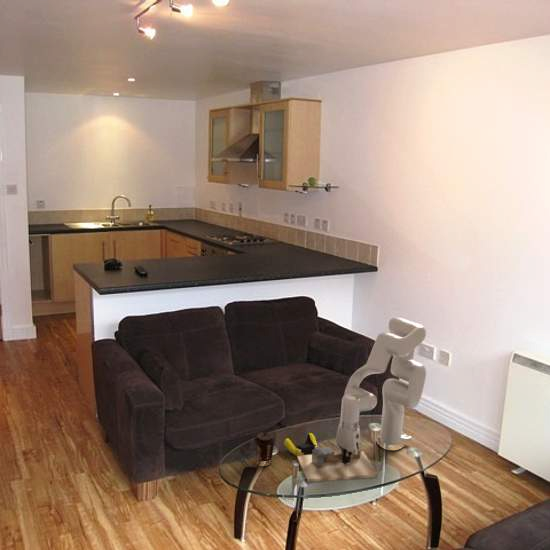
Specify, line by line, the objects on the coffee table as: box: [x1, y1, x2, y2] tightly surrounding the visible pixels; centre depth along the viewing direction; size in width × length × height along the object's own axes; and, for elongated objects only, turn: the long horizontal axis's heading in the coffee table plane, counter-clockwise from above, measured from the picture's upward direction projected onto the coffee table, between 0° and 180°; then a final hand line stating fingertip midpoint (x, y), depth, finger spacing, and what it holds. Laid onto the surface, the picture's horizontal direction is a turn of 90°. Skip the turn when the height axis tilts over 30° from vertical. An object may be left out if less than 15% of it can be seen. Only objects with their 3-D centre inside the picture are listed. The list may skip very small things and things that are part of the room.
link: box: [324, 448, 362, 462], centre depth 261 cm, size 18×4×3 cm, turn 108°
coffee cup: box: [254, 431, 276, 462], centre depth 257 cm, size 9×8×13 cm
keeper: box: [311, 445, 335, 468], centre depth 257 cm, size 8×5×6 cm, turn 113°
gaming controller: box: [283, 432, 319, 457], centre depth 269 cm, size 15×6×10 cm
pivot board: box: [296, 449, 378, 482], centre depth 257 cm, size 30×18×7 cm, turn 101°
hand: (345, 462), depth 258 cm, fingers closed
